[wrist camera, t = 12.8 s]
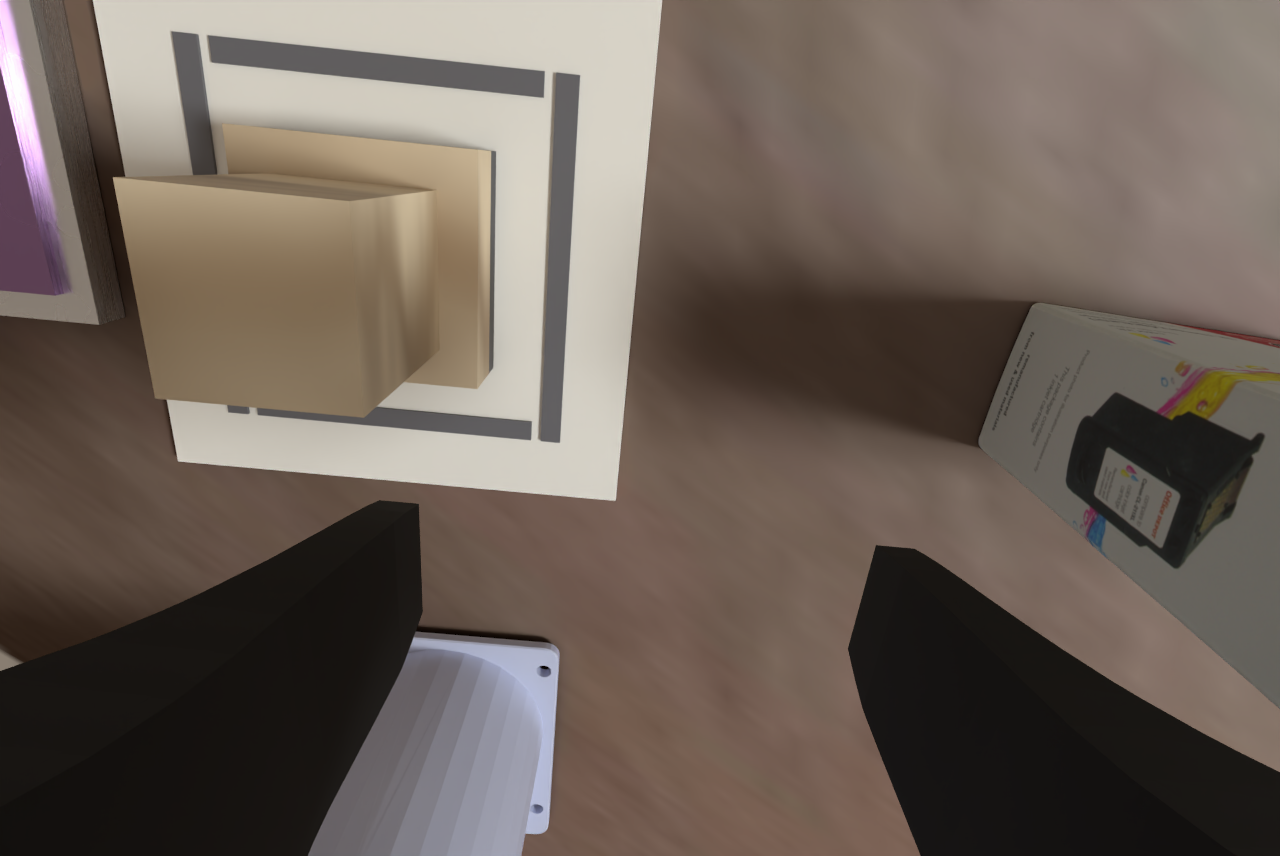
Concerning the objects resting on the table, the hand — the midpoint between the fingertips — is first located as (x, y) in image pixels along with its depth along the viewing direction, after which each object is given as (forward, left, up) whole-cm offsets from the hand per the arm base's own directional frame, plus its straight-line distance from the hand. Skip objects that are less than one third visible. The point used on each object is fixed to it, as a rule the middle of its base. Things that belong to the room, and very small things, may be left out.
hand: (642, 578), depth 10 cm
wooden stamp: (+3, +8, -10) cm, 13 cm away
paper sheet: (+3, +8, -10) cm, 13 cm away
